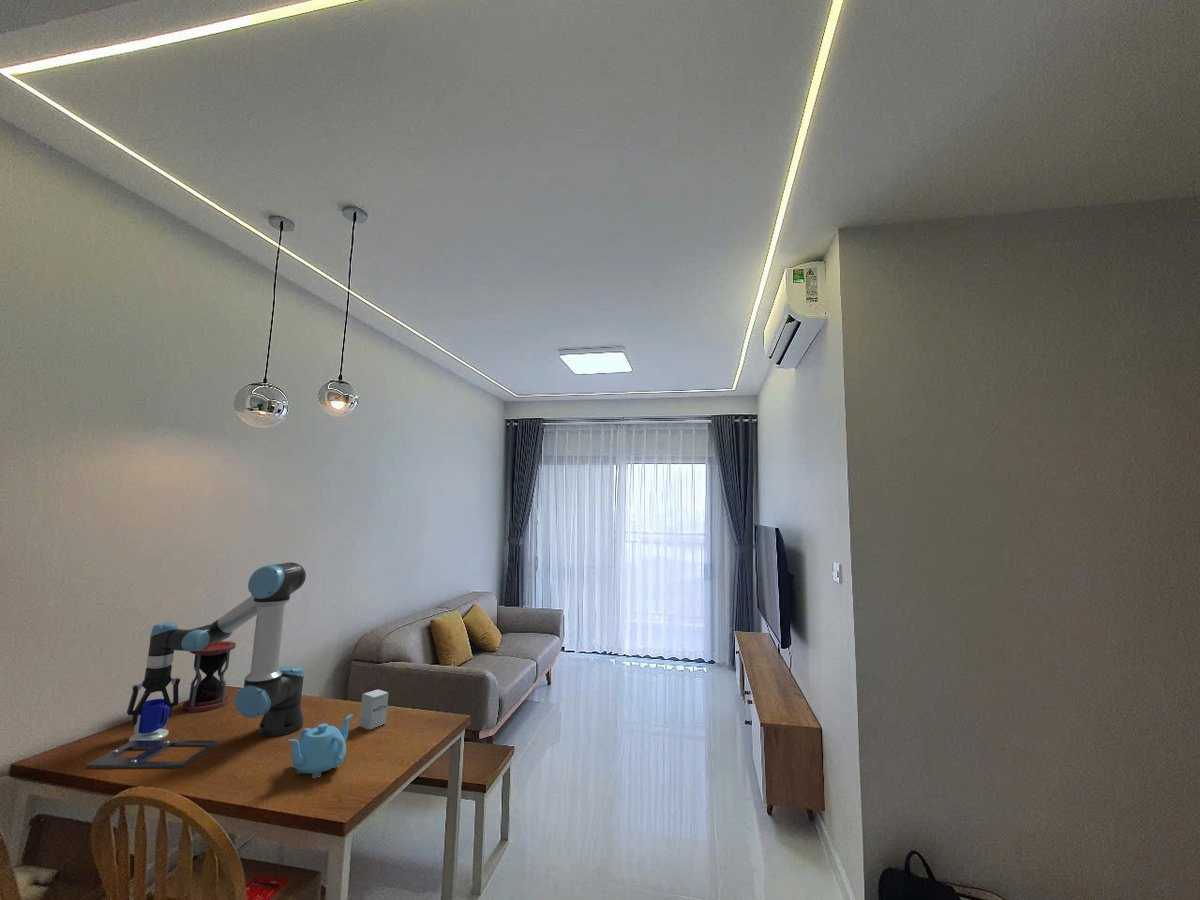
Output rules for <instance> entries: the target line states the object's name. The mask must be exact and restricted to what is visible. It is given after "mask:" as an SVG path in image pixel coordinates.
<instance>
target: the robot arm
mask: <svg viewBox="0 0 1200 900" xmlns="http://www.w3.org/2000/svg"><path fill="white" fill-rule="evenodd" d="M306 578H307V574H306V570H305V569H304V567H303V566H302V565H301V564H298V563H296V562H291V561H290V562H284V563H275V564H267V565H263V566H261V567H260V568H257V569H256V570H255V571H253V573H252V574H251V575H250V577H249V580H248V583H247V589H248V592H249V593H250V596H249V597H248V598H246V599H245V600H243V601H242V602H241V603H239V604H238V605H236V606H234V608H232V609H231V610H229V611H228V612H226V613H225V614H223V615H222V616H220V617H219V618H218V619H216V620H215V621H213V622H212V623H209V624H206V625H203V626H198V627H196V628H192V629H181V628H179V627H178V626H179V625H178V623H177V622H173V621H171V622H170V621H169V622H160V623H156V624H155V625H153V626H152V628H151V633H150V636H149V645H148V653H147V659H146V665H145V666H146V668H145V673H144V678H143V679H144V680H143V681H142V682H141V683H139V684H133V685H132V687H131V689H132V693H131V697H130V700H129V703H128V707H127V710H126V713H127V714H126V715H128V716H132V718H131V720H132V721H131V724H132V726H133V725H134V729H133V733H134V735H135V734H138V731H139V724H140V717H141V714H139V712H140V710H141V709H142V707H143V705H144V703H145V702H146V701H148V700H147V699H148V698H149V697H150V696H151V694H153V693H156V692H161V693H162V696H163V699H164V700H165V701H166V706H168V707H170V713H169V717H168V718H170V717H171V715H172V709H173V708H174V707H175V706H176V707H177V706H178V705H179V684H180V683H181V679H180V678H179V677H175V678H174V677H172V670H173V669H172V668H173V665H172V664H173V660H174V653H175V651H182V652H192V651H200V650H202V649H203V648H204V647H206V646H207V645H208V644H212V643H215V642H219V641H225V640H227V639H229V638H230V637H231V636H232V634H233V633H234V631H235V630H238V629H239V628H240V627H241V626H243V625H244V624H246V623H248V621H250V620H252V619H253V618H255V616H256V620H255V628H254V636H253V637H254V638H253V644H252V645H253V647H252V655H251V666H250V671H249V673H248V674H247V675H246V676H245V678H244V681H243V682H244V684H243V687H241V689H240V690H239V691H238V692H237V693H236V695H235V697H234V704H235V709H236V710H237V711H238V712H237V713H239V714H240V715H241V716H242V717H245V718H248V719H253V718H257V717H260V716H262V718H261V721H260V723H259V725H258V731H257V733H258V734H259V735H261V736H263V737H264V736H265V737H280V736H285V735H288V734H291V733H294V732H297V731H299V730H300V729H302V728H303V727H304V723H305V721H304V720H305V717H304V714H303V711H302V707H301V703H302V702H301V701H302V693H303V684H304V677H305V676H304V675H305V673H304V672H305V670H304V668H303V667H302V666H297V665H284V666H279V660H280V654H281V653H280V650H281V641H282V633H283V623H284V612H285V605H286V603H288V602H289V601H290V600H291V595H292V594H293V593H295V592H296V591H297V590H299V589H300V588H301V587H302V586H303V585H304V583H305V581H306ZM169 684H172V702H171V698H170V695H169V693H168V690H167V687H168V685H169ZM142 688H144V689H145V690H144V692H143V694H142V696H141V698H140V699H139V701H138V703H137V705H136V702H137V697H138V694H139V691H140V690H141V689H142ZM135 705H136V707H135ZM134 708H135V709H134ZM165 712H166V709H165V711H164V716H163V720H162V724H163V721H164V717H165ZM166 727H167V724H166V725H165V726H164V727H162V729H166Z"/></svg>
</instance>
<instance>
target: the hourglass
mask: <svg viewBox="0 0 1200 900" xmlns="http://www.w3.org/2000/svg"><path fill="white" fill-rule="evenodd" d="M236 645H237V644H236V642H234V641H229V640H222V641H219V642H215V643H212V644H208V645H207V646H206V647H204V648H203V649H202V650H200V651H192V652H190V654H194V659H193V660H194V661H193V670H195V676H194V678H193V679H192V681H191V682H190V691H189V698H188V700H186V701H185V702H183V703H182V706H181V707H182V708H181V709H182V711H185V712H189V713H200V712H206V711H211V710H215V709H220V708H221V707H224V706H226V705H228V703H229V702H230V697H229V696H228V695H226V688H227V687H226V686H227V683H226V680H225V672H226V671H227V670H228V668H229V663H230V655H231V651H232V650H234V649H236ZM224 665H225V666H224ZM200 671H201V672H202V673H203V674H205V677H203V678H202V674H201V672H200ZM216 672H217V676H218V677H219V678H217V677H216V676H215V675H214V674H215V673H216Z"/></svg>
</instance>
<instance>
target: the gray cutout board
mask: <svg viewBox="0 0 1200 900" xmlns="http://www.w3.org/2000/svg"><path fill="white" fill-rule="evenodd" d="M220 741H221V740H217V739H216V740H215V739H214V740H210V739H209V740H206V739H205V740H203V739H201V740H200V739H198V740H197V739H196V740H191V739H189V740H187V739H186V740H177V739H176V740H175V739H173V740H171V739H168V740H166V739H165V740H164V739H163V740H162V739H160V740H132V741H130V742H129V741H128V742H127V743H125V744H123V745H121V746H119V747H117V748H116V749H114V750H111V751H109V752H107V753H106V754H104V755H102V756H100V757H98V758H97V759H95V760H93V761H90V762H88V763H87V764H86V765H85V768H86V767H94V768H93V769H140V768H141V769H145V768H146V769H156V768H157V769H165V768H167V769H169V768H170V769H171V768H172V769H174V768H175V769H176V768H178V769H181V768H185V767H186V766H187V765H190V763H192V762H194V761H195V760H196V759H198V758H199V757H202V756H203V754H205V753H207V752H209V751H210V750H211V749H212V748H213V749H214V747H216V746H217V745H219V744H220ZM182 746H183V747H184V746H185V747H193V746H194V747H196V746H197V747H204V746H205V748H203V749H201V750H200V751H198V752H197V753H195V754H194V755H192V756H191V757H189V758H188V759H186V760H185V761H148V760H151V759H152V758H154V757H155V756H157V755H158V754H160V753H162V752H164V751H165V750H167V749H169V748H170V747H182ZM129 750H132V751H133V750H136V751H139V750H140V751H141V750H142V751H143V750H145V751H144V752H141V753H140V754H139V755H136V756H135V757H132V756H131V757H128V756H125V757H119V756H120V755H123V754H124V753H126V752H127V751H129Z"/></svg>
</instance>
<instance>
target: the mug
mask: <svg viewBox="0 0 1200 900" xmlns="http://www.w3.org/2000/svg"><path fill="white" fill-rule="evenodd" d="M165 709H166V712H165V717H164V721H163V724H162V720H163V716H164V711H165ZM169 713H170V707H168V706H167V705H166V701H165V700H164V698H154V699H149V700H146V702H145V703H144V705H143V707H142V709H141V710H140V712H139V714H141V717H140V724H139V731H138V733H150V732H154V731H156V730H158V729H163V727H164V726H165V725H166V726H167V723H168V720H169V718H170V717H169Z"/></svg>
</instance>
